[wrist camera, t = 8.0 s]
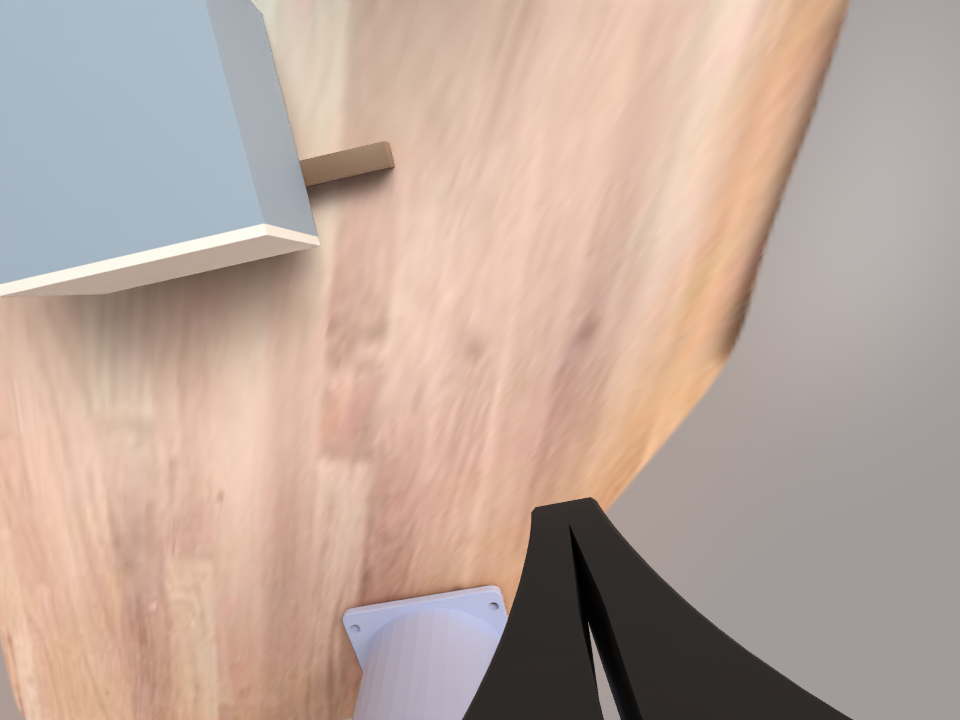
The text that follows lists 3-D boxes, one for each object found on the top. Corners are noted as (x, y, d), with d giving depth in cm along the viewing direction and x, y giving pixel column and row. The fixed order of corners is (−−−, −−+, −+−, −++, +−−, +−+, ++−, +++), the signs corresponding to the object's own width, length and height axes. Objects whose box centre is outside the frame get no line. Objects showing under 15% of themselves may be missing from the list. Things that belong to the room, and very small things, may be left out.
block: (267, 234, 13) (185, -72, 12) (-6, 297, 14) (-106, 9, 13) (320, 245, 17) (262, 13, 16) (105, 294, 18) (35, 73, 17)
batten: (395, 166, 18) (390, 166, 17) (35, 248, 19) (12, 252, 18) (389, 142, 18) (384, 141, 17) (23, 227, 19) (0, 230, 18)
